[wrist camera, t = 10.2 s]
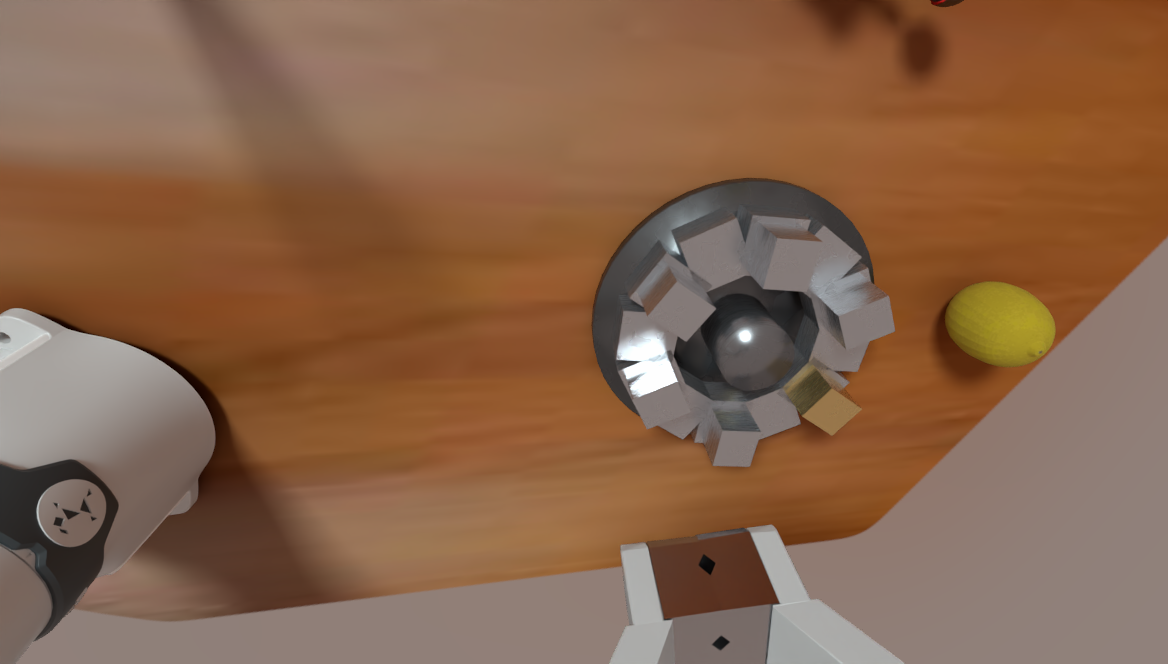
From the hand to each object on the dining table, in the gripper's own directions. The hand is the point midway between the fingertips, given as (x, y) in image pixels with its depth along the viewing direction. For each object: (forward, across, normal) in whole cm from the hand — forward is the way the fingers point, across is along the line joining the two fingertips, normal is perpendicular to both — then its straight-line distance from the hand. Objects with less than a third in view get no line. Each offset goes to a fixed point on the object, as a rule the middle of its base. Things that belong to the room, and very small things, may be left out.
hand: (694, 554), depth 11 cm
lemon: (+29, -28, +12) cm, 42 cm away
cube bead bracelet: (+28, -10, +12) cm, 32 cm away
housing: (+29, -10, +12) cm, 33 cm away
